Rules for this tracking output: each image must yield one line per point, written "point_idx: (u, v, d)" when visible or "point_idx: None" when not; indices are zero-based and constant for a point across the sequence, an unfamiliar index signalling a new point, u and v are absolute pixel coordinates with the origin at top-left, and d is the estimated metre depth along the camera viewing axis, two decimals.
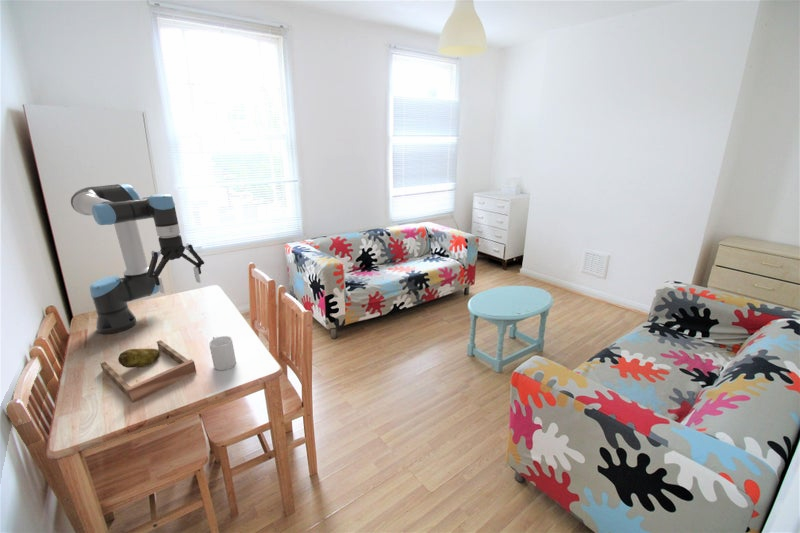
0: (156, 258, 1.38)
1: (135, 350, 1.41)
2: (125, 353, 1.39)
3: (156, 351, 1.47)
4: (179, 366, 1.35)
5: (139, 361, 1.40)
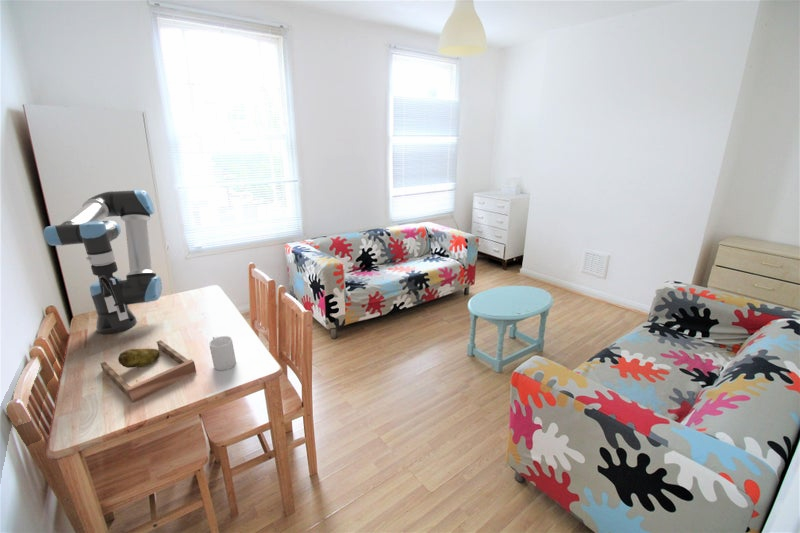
0: (99, 279, 1.44)
1: (135, 350, 1.41)
2: (125, 353, 1.39)
3: (156, 351, 1.47)
4: (179, 366, 1.35)
5: (139, 361, 1.40)
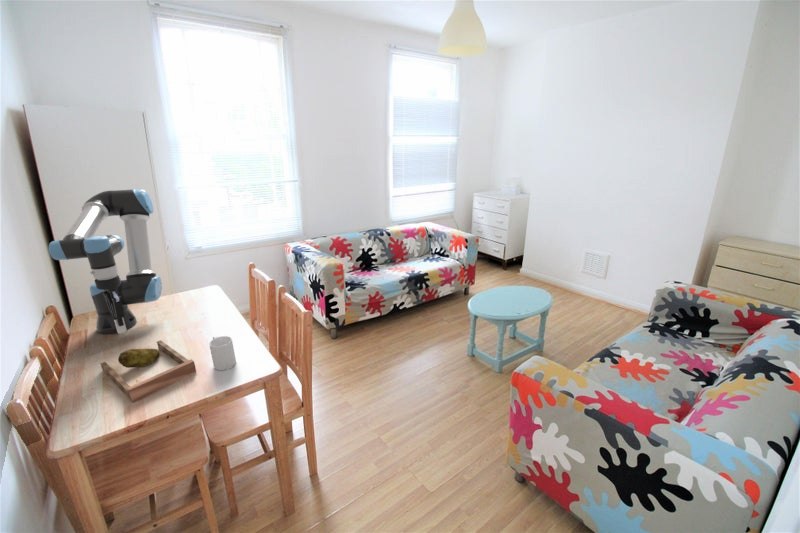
0: (105, 297, 1.45)
1: (135, 350, 1.41)
2: (125, 353, 1.39)
3: (156, 351, 1.47)
4: (179, 366, 1.35)
5: (139, 361, 1.40)
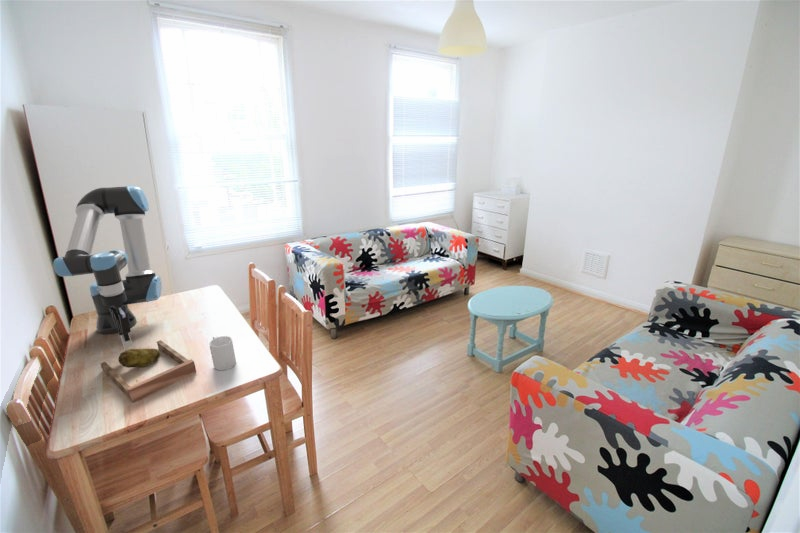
0: (111, 312, 1.46)
1: (135, 350, 1.41)
2: (125, 353, 1.39)
3: (156, 351, 1.47)
4: (179, 366, 1.35)
5: (139, 361, 1.40)
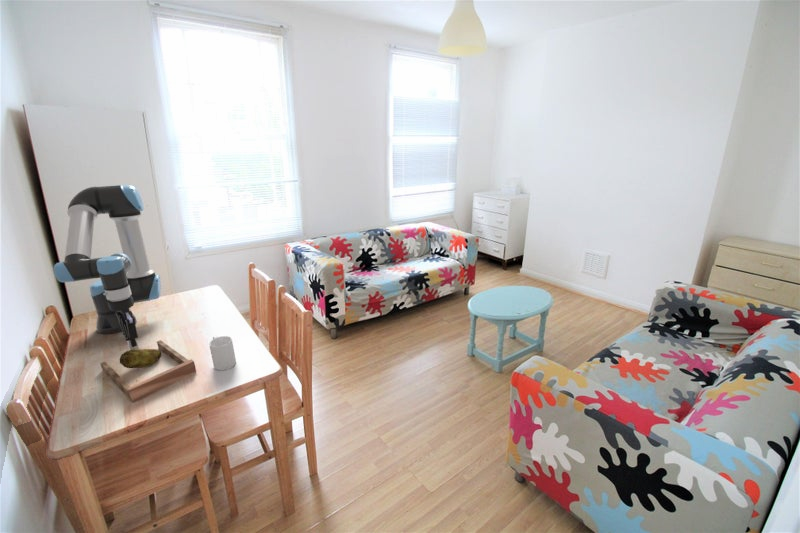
0: (117, 317, 1.42)
1: (136, 351, 1.41)
2: (126, 354, 1.38)
3: (157, 351, 1.46)
4: (179, 366, 1.35)
5: (141, 362, 1.40)
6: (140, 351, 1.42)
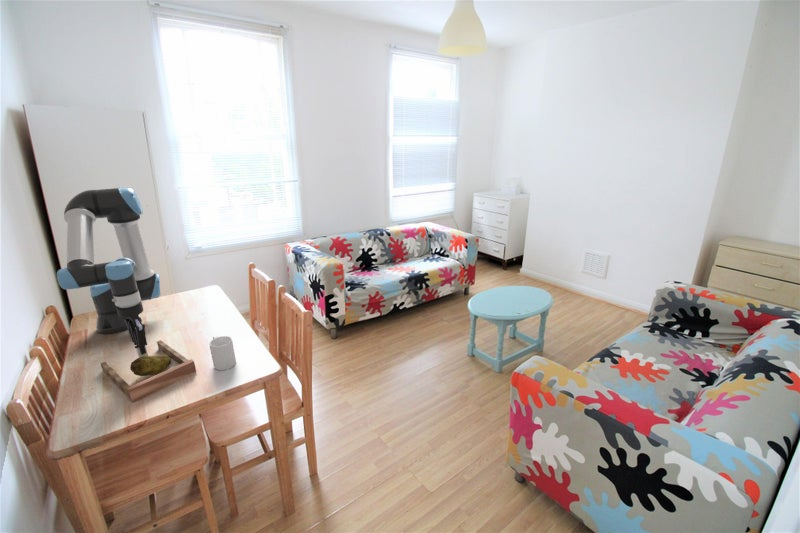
0: (126, 323, 1.37)
1: (147, 357, 1.36)
2: (138, 361, 1.33)
3: (168, 357, 1.42)
4: (179, 366, 1.35)
5: (153, 368, 1.36)
6: (151, 358, 1.37)
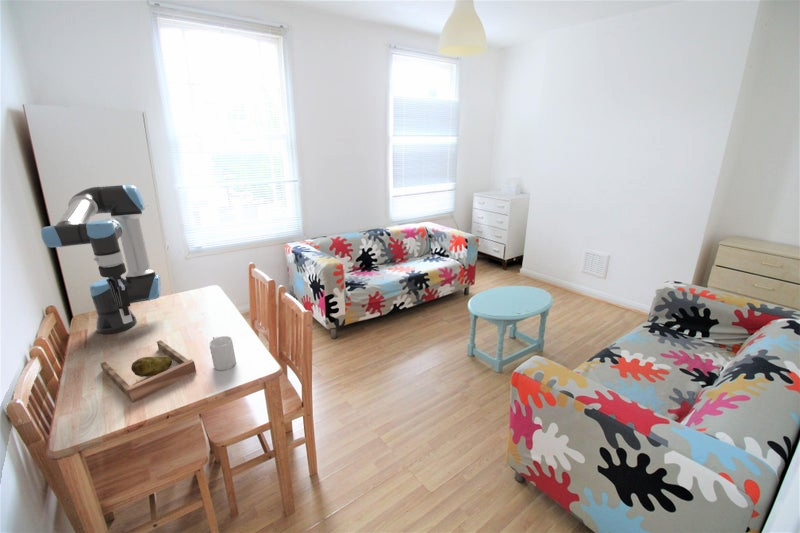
0: (109, 285, 1.37)
1: (148, 358, 1.36)
2: (139, 362, 1.33)
3: (169, 358, 1.42)
4: (179, 366, 1.35)
5: (154, 369, 1.35)
6: (152, 358, 1.37)
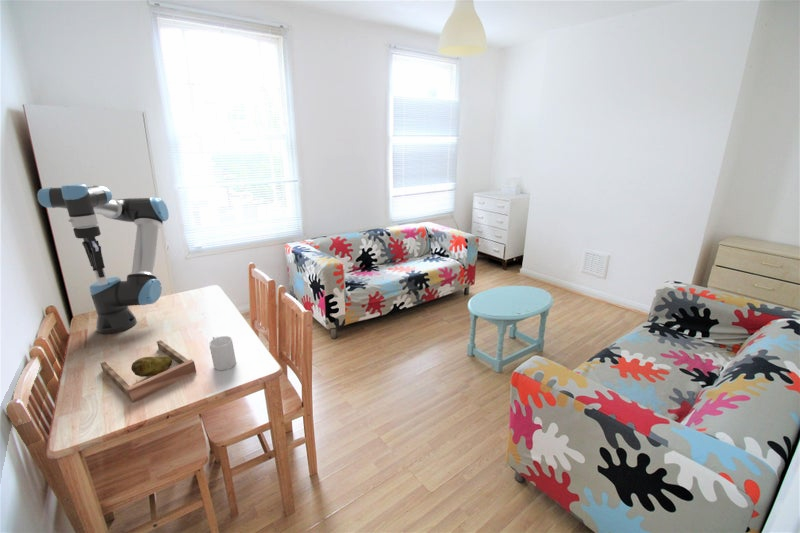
0: None
1: (148, 358, 1.36)
2: (139, 362, 1.33)
3: (169, 358, 1.42)
4: (179, 366, 1.35)
5: (154, 369, 1.35)
6: (152, 358, 1.37)
